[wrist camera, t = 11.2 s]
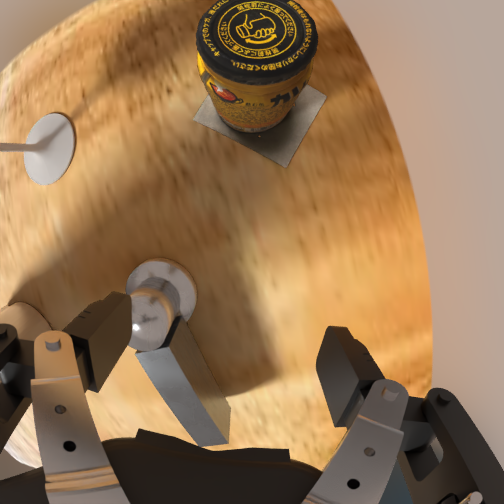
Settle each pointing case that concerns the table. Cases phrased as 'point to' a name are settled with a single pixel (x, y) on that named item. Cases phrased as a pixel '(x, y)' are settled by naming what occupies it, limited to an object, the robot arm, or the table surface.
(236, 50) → the condiment
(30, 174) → the wineglass
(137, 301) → the swing arm
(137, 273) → the swing arm mount
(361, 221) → the table surface
